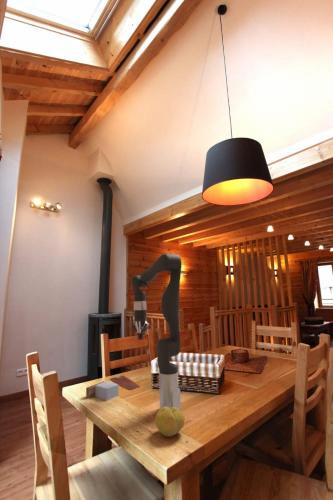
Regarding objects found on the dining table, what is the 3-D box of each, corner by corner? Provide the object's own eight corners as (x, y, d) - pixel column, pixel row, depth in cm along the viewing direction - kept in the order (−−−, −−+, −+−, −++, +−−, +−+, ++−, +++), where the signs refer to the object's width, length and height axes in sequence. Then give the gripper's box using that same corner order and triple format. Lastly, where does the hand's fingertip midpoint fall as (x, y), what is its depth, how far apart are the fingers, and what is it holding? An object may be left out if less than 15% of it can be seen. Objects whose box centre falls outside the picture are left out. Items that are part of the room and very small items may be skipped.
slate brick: (118, 396, 142) (118, 384, 143) (106, 401, 136) (107, 388, 137) (106, 392, 148) (106, 381, 149) (95, 396, 142) (95, 385, 143)
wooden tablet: (108, 380, 170) (108, 377, 170) (122, 377, 176) (122, 374, 176) (127, 392, 149) (127, 389, 149) (142, 387, 154) (142, 384, 155)
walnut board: (106, 391, 149) (107, 382, 150) (89, 398, 139) (89, 388, 140) (103, 390, 151) (103, 381, 151) (86, 397, 141) (86, 387, 142)
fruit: (179, 445, 95) (178, 415, 96) (150, 439, 99) (150, 411, 100) (188, 430, 105) (187, 403, 106) (161, 425, 109) (161, 400, 111)
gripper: (152, 308, 151) (153, 339, 148) (136, 308, 159) (136, 337, 156) (144, 309, 145) (144, 341, 143) (127, 309, 153) (127, 339, 150)
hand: (140, 339), depth 149 cm, fingers closed
